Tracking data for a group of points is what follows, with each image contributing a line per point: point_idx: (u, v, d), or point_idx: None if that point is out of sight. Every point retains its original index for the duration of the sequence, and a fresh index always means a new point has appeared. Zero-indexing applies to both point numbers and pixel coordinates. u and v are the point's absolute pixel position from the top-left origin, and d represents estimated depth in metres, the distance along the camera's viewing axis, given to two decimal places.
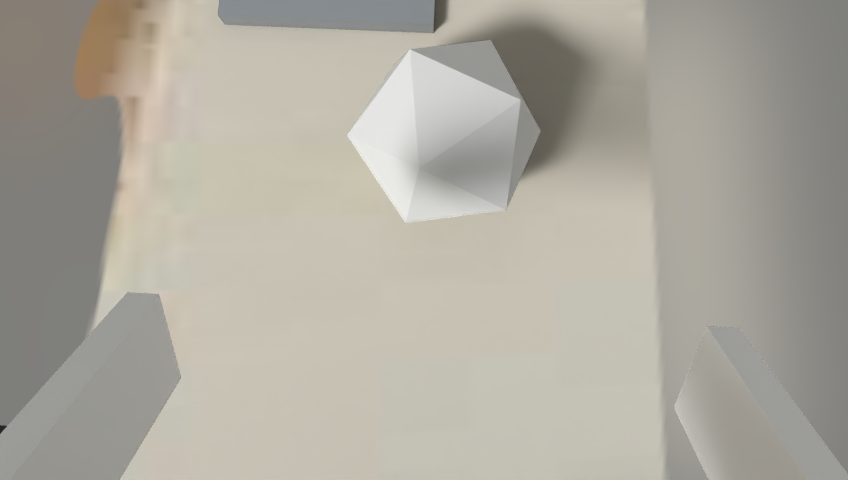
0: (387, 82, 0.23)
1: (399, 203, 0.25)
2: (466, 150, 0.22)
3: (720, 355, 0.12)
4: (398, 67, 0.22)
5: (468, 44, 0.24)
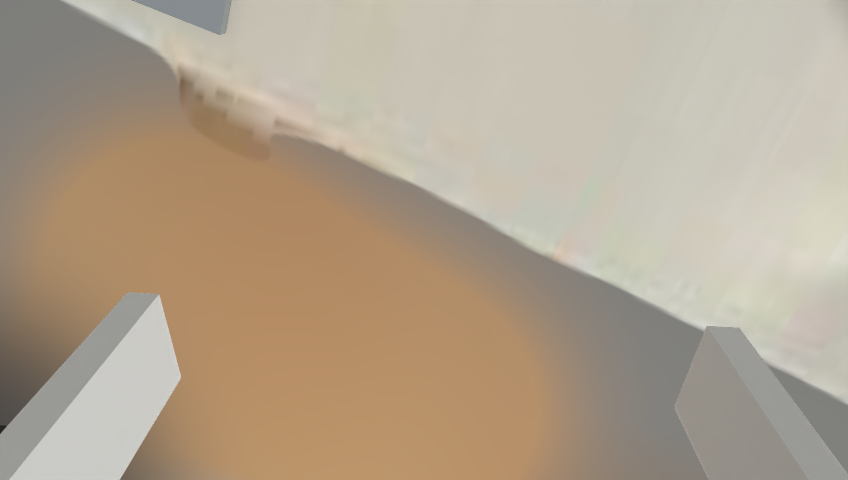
0: None
1: None
2: None
3: (720, 355, 0.12)
4: None
5: None
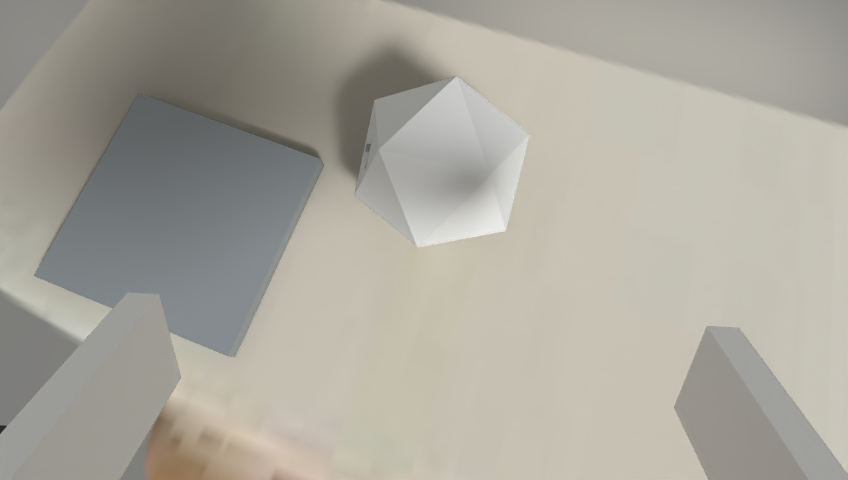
0: (394, 184, 0.24)
1: (491, 224, 0.26)
2: (483, 134, 0.24)
3: (720, 355, 0.12)
4: (387, 167, 0.24)
5: (378, 113, 0.26)
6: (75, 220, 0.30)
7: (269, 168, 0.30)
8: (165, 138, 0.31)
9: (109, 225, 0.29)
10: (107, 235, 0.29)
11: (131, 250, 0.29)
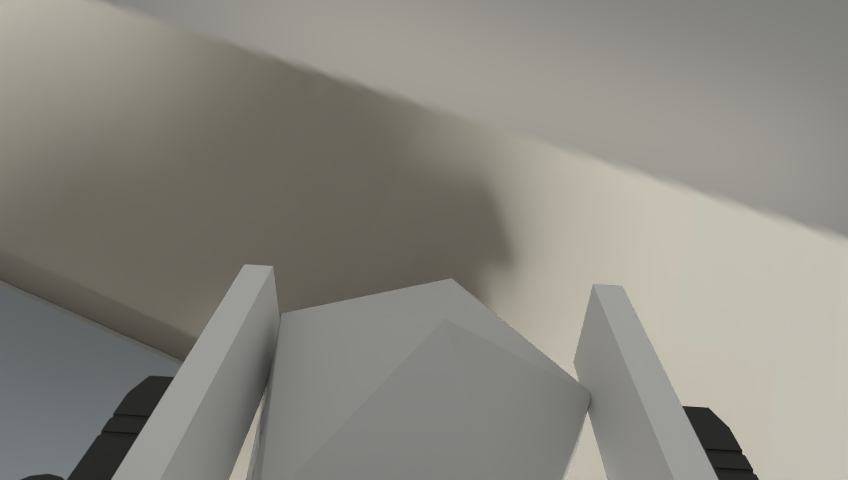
0: None
1: None
2: (505, 460, 0.10)
3: (599, 308, 0.13)
4: None
5: (280, 363, 0.12)
6: None
7: (112, 394, 0.17)
8: None
9: None
10: None
11: None
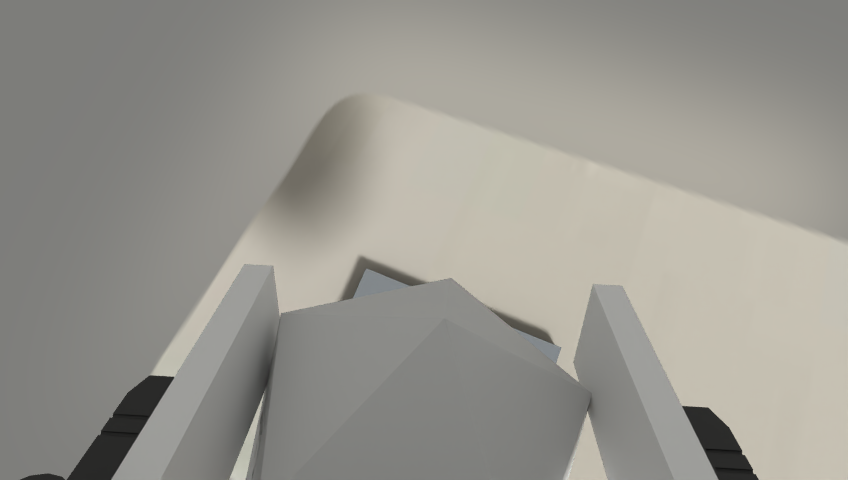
0: None
1: None
2: (506, 460, 0.10)
3: (599, 308, 0.13)
4: None
5: (280, 363, 0.12)
6: None
7: None
8: None
9: None
10: None
11: None
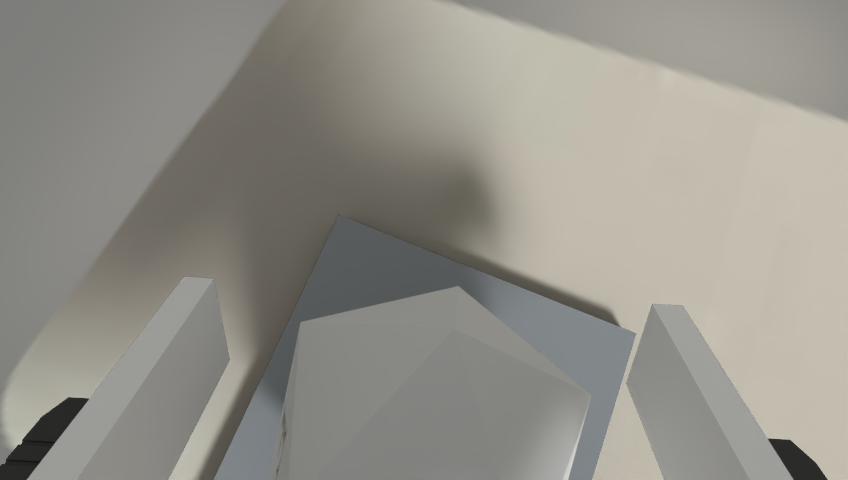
0: None
1: None
2: (512, 458, 0.11)
3: (662, 330, 0.12)
4: None
5: (301, 369, 0.13)
6: (252, 431, 0.18)
7: (557, 348, 0.19)
8: (387, 292, 0.20)
9: None
10: None
11: None
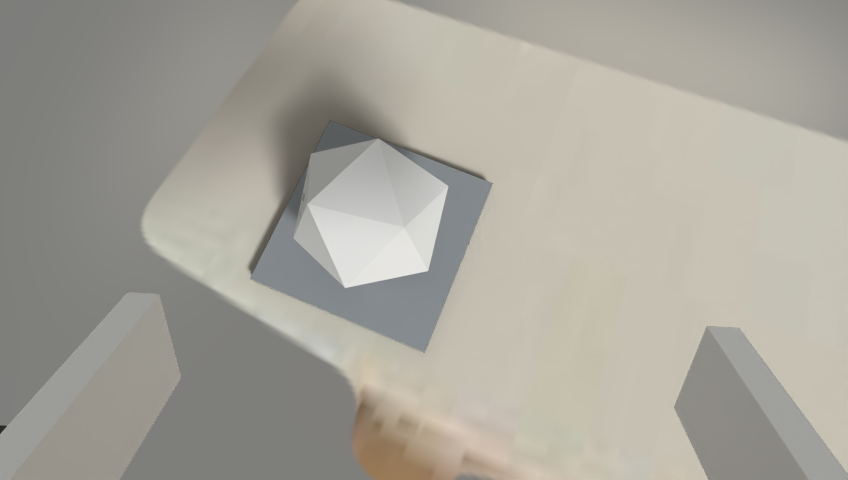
0: (322, 233, 0.27)
1: (413, 266, 0.29)
2: (401, 190, 0.27)
3: (720, 355, 0.12)
4: (315, 219, 0.27)
5: (312, 167, 0.29)
6: (282, 231, 0.34)
7: (449, 190, 0.35)
8: None
9: None
10: None
11: None
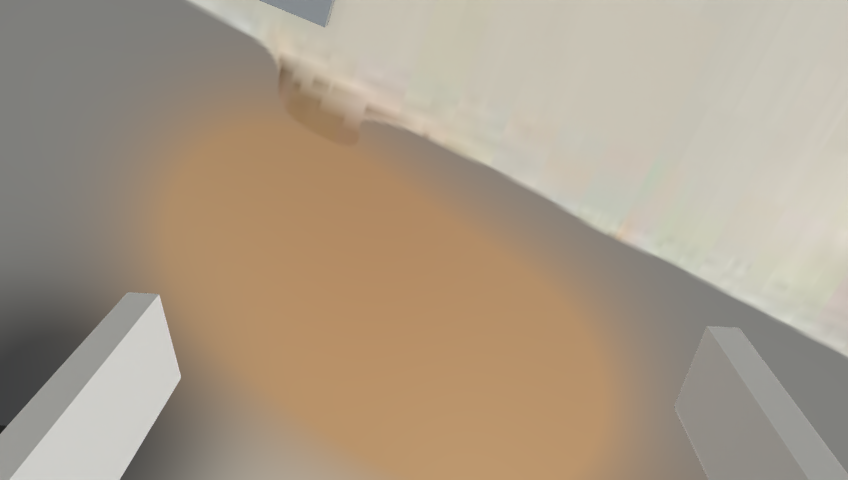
0: None
1: None
2: None
3: (720, 355, 0.12)
4: None
5: None
6: None
7: None
8: None
9: None
10: None
11: None
